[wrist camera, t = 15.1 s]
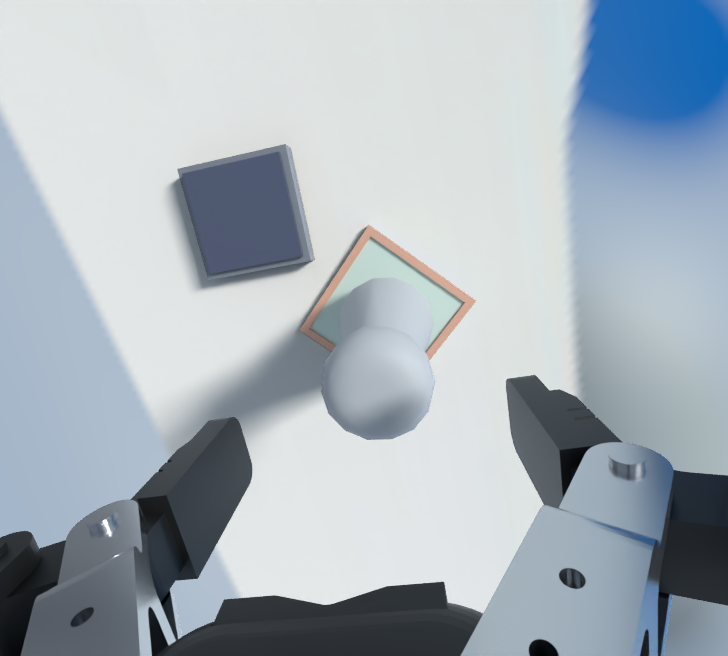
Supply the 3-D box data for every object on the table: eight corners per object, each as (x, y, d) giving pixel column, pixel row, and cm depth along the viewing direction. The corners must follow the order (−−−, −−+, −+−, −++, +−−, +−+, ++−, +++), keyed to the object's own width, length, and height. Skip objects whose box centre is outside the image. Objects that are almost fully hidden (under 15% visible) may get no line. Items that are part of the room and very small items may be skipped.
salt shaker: (444, 293, 26) (490, 357, 13) (408, 368, 27) (419, 491, 15) (361, 259, 25) (328, 291, 13) (331, 336, 27) (274, 432, 14)
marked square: (300, 328, 27) (299, 330, 27) (369, 224, 25) (368, 225, 25) (399, 394, 28) (399, 397, 28) (474, 299, 26) (476, 300, 25)
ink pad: (187, 171, 25) (173, 168, 24) (290, 148, 24) (283, 143, 23) (217, 278, 27) (206, 280, 25) (314, 259, 26) (309, 261, 24)
